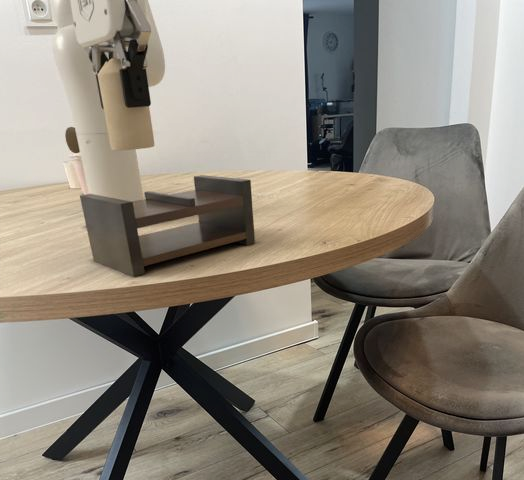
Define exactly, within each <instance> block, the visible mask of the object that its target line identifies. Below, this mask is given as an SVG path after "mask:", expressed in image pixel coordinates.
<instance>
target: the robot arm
mask: <svg viewBox="0 0 524 480" xmlns="http://www.w3.org/2000/svg"><path fill="white" fill-rule="evenodd" d="M48 1H49V6H50V9H51V13H52V15H53V18H54V20H55V22H56V24H57V26H58V28H59V29H58V30H57V31H56V33H55V34H54V36H53V38H52V52H53V53H52V54H53V58H54V61H55V65H56V67H57V71H58V73H59V76H60V79H61V82H62V85H63V87H64V92H65V93H66V97H67V101H68V104H69V109H70V112H71V117H72V121H73V125H74V126H73V127H74V128H75V131H76V135H77V140H78V145H79V150H80V154H81V159H82V164H83V169H84V174H85V178H86V183H87V188H88V193H89V194H94V195H100V196H105V197H110V198H115V199H121V200H126V201H131V202H132V201H138V200H143V199H145V196H144V191H143V185H142V179H141V173H140V168H139V162H138V156H137V149H133V150H112V149H111V145H110V140H109V135H108V129H107V124H106V118H105V113H104V107H103V102H102V96H101V91H100V85H99V80H98V73H99V71H100V70H101V68H102V67H103V66H104V64H105V62H106V61H108V62H109V60H110V59H112V58H114V59H120V61H121V64H122V67H123V68H124V69H119V71H120V77H121V83H122V89H123V95H124V101H125V106H126V107H127V108H132V107H146V106H149V107H150V106H151V104H152V100H151V94H150V88H151V87H152V88H153V87H155V86H157V85H159V84H160V83H161V82H162V81H163V79H164V76H165V73H166V60H165V59H166V58H165V54H164V49H163V45H162V42H161V38H160V35H159V32H158V29H157V24H156V22H155V19H154V15H153V12H152V9H151V5H150V2H149V0H48Z"/></svg>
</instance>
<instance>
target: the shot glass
mask: <svg viewBox="0 0 524 480" xmlns="http://www.w3.org/2000/svg"><path fill="white" fill-rule="evenodd" d="M62 166H63V169H64V172H65V175H66V178H67V181H68V184H69V188H70V189H82V188H81V186H80V183H79V180H78V177H77V174H76V171H75V168H74V165H73V162H72V160H67V161H63V162H62Z"/></svg>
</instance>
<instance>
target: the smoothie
mask: <svg viewBox="0 0 524 480" xmlns="http://www.w3.org/2000/svg"><path fill="white" fill-rule="evenodd" d="M69 159H70V161H72V162H73V165H74V168H75V171H76V174H77V177H78V180H79V183H80V186H81V188H80V189H81V190H82V191H81V192H82V195H86V194H89V193H88V188H87V183H86V178H85V174H84V169H83V164H82V159H81V154H80V152H79V153H73V154H70V155H69Z"/></svg>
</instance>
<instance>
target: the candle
mask: <svg viewBox="0 0 524 480" xmlns="http://www.w3.org/2000/svg"><path fill="white" fill-rule="evenodd" d="M119 69H124V68H123V67H122V64H121V61H120V59H114V58H112V59H110V60H109V62H108V61H106V62H105V64H104V66H103V67H102V68H101V70H100V71H99V73H98V80H99V85H100V91H101V96H102V102H103V107H104V113H105V118H106V124H107V129H108V135H109V140H110V145H111V149H112V150H133V149H136V150H142V149H149V148H154V147H155V137H154V131H153V123H152V116H151V111H150V106H146V107H132V108H127V107H126V106H125V101H124V95H123V89H122V83H121V77H120V71H119Z"/></svg>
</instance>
